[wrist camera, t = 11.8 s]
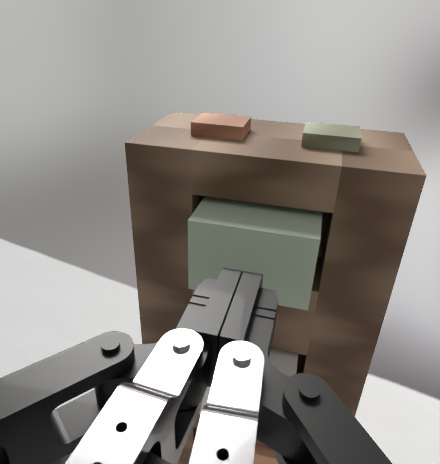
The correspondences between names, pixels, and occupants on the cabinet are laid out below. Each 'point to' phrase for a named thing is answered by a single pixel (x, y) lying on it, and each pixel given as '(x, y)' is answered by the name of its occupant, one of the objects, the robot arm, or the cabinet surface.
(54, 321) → the cabinet surface
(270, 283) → the key top
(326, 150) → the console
